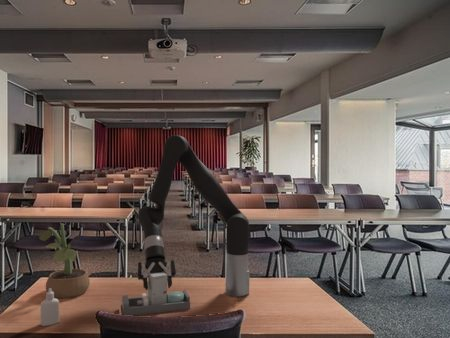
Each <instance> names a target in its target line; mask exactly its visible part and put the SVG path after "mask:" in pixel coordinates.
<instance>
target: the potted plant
mask: <svg viewBox="0 0 450 338" xmlns="http://www.w3.org/2000/svg"><path fill="white" fill-rule="evenodd" d="M65 232H66V231H65V226H64V223H60V234H59V233H58V232H57V231H56V230H55V229H54V228H53V227H52V226H48V227H47V230H46V231H43V232H42V233H41V234H40V235H39V237H38V238H39V240H41V241H42V242H46V241H47V240H49V239H50V238H51V236H52V234H53V236H54V238H55V239H54V242H52V243H49V244H47V245H46V246H45V247H46V249H54V250H55V249H58V250H57V251H56V252H55V253H54V254H53V258H54V260H56V261H58V262H59V261H60V262H64V268H63V269H60V270H56V271H54V272H52V273H50V274H49V275H48V277H47V280H46V282H45V291H46V293H47V292H48V290H49V288H51V290H52V292H54V298H56V299H70V298H74V297H79V296H81V295H83V294H84V293H86V292H87V291H88V290H89V287H90V285H91V284H90V282H91V281H90V277H89V276H88V272H87V271H86V270H84V269H81V268H73V262H75V261H76V259H77V251H76V250H75V249H72V246H71V244H70V243H68V244H67V238H66V233H65Z"/></svg>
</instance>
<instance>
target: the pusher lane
mask: <svg viewBox="0 0 450 338" xmlns="http://www.w3.org/2000/svg"><path fill="white" fill-rule="evenodd" d="M182 293H184V302H176V303H168V294H169V293H167V300H166V304H157V305H147V306H142V305H137V301H139V300H142V296H136V297H135V296H133V297H129V296H128V294H125V295H123V294H122V296H121V308H122V315H123V314H124V315H130V316H137V315H138V316H139V315H146V314H148V315H149V314H157V313H163V312H164V313H165V312H173V311H183V310H190V309H191V300H190V299H191V297H190V295H189V294H188V292H187V290H186V289H182ZM147 298H148V295H147Z"/></svg>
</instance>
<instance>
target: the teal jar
mask: <svg viewBox="0 0 450 338" xmlns="http://www.w3.org/2000/svg"><path fill="white" fill-rule="evenodd" d="M167 294H168V303H176V302H184V293H183V291H171V292H169V293H167Z"/></svg>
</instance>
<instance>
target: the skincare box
mask: <svg viewBox="0 0 450 338" xmlns="http://www.w3.org/2000/svg"><path fill="white" fill-rule="evenodd" d="M147 281H148V290H147V296H148V305H157V304H166V300H167V294H168V293H167V292H168V290H167V289H168V282H167V274H165V273H163V272H159V273H152V274H149V275H148V278H147Z"/></svg>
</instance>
